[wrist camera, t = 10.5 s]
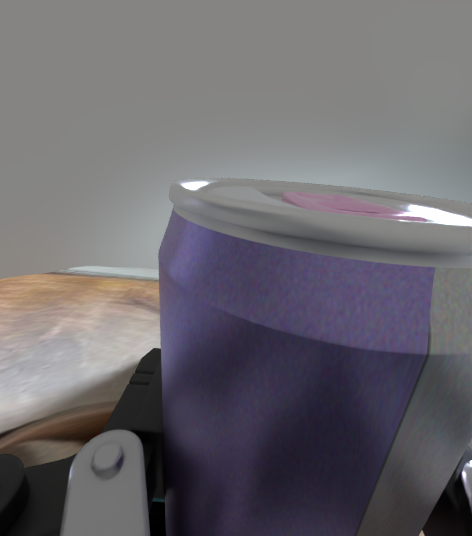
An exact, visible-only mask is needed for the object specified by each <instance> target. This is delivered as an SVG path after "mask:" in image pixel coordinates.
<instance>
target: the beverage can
mask: <svg viewBox="0 0 472 536" xmlns="http://www.w3.org/2000/svg"><path fill="white" fill-rule="evenodd" d="M169 198H170V201H171V202H172V203H173V204H174V206H173V210H172V214H171V217H170V220H169V223H168V226H167V229H166V232H165V235H164V237H163V240H162V243H161V246H160V249H159V256H158V257H159V295H160V331H161V368H162V404H163V429H164V467H165V514H166V536H419V534H420V532H421V530H422V528H423V527H424V525H425V523H426V521H427V519H428V517H429V516H430V514H431V512H432V510H433V508H434V507H435V505H436V503H437V501H438V499H439V497H440V496H441V494H442V492H443V490H444V488H445V487H446V485H447V483H448V481H449V479H450V477H451V476H452V474H453V472H454V470H455V468H456V466H457V465H458V463H459V461H460V459H461V457H462V456H463V454H464V452H465V450H466V448H467V446H468V445H469V443H470V441H471V439H472V203H467V202H461V201H454V200H448V199H440V198H434V197H427V196H420V195H412V194H404V193H396V192H388V191H378V190H371V189H361V188H352V187H342V186H332V185H321V184H310V183H298V182H286V181H270V180H255V179H233V178H193V179H182V180H177V181H175V182H173V183H172V184H171V186H170V190H169Z"/></svg>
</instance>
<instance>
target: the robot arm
mask: <svg viewBox="0 0 472 536" xmlns="http://www.w3.org/2000/svg"><path fill="white" fill-rule="evenodd" d="M153 498H157V499H165V467H164V429H163V404H162V368H161V349H158V348H153V349H152V350H151V351H150V352H149V353H147V354H146V355H145V356H144V357H143V358H142V359H141V361H140V363H139V365H138V366H137V368H136V370H135V373H134V374H133V376H132V378H131V379H130V381H129V384H128V385H127V387H126V389H125V391H124V392H123V394H122V396H121V398H120V400H119V402H118V403H117V405H116V407H115V409H114V411H113V413H112V415H111V416H110V418H109V420H108V422H107V424H106V426H105V428H104V429H103V431H102V432H101V434H100V435H98V436H96V437H95V438H93V439H91V440H90V441H89V442H88V443H86V444H85V445H84V446H83V447H82V448H81V450H80V451H79V452H78V453H77V454H75V455H73V456H70V457H68V458H65V459H62V460H58V461H54V462H50V463H45V464H41V465H37V466H32V467H28V468H24V466H23V463H22V461H21V460H20V459H19V458H18V457H16V456H14V455H10V454H0V536H150V528H149V516H148V515H149V512H150V508H151V505H152V501H153ZM422 531H423V533H424V535H425V536H472V450H471V449H470V448H469V446H467V448H466V450H465V452H464V454H463V456H462V457H461V459H460V461H459V463H458V465H457V466H456V468H455V470H454V472H453V474H452V476H451V477H450V479H449V481H448V483H447V485H446V487H445V488H444V490H443V492H442V494H441V496H440V497H439V499H438V501H437V503H436V505H435V507H434V508H433V510H432V512H431V514H430V516H429V517H428V519H427V521H426V523H425V525H424V527H423V528H422Z"/></svg>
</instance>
